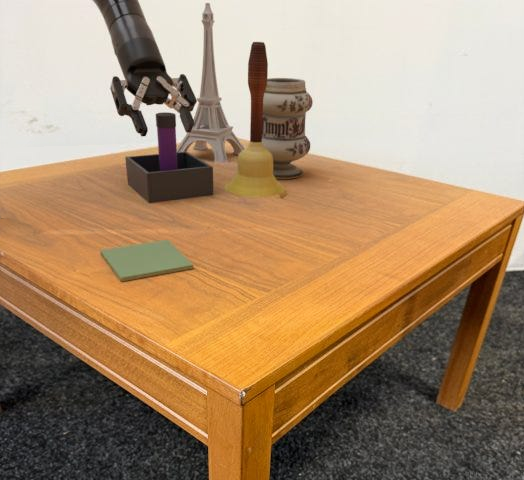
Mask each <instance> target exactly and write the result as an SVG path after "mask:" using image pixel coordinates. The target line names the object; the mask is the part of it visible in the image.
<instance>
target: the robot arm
mask: <svg viewBox="0 0 524 480" xmlns="http://www.w3.org/2000/svg"><path fill="white" fill-rule="evenodd" d="M91 2H92V3H93V4H94V5H95V7H96V8H97V9H98V12H99V13H100V14H101V16H102V19H103V21H104V23H105V27H106V29H107V32H108V34H109V37H110V40H111V45H112V48H113V53H114V55H115V58H116V59H117V62H118V64H119V67H120V70H121V72H122V75H123V78H124V79H120V78H119V77H118V76H115V75H113V77H112V79H111V83H110V88H109V89H110V92H111V95H112V99H113V102H114V105H115V109H116V112H117V114H118V115H119V116H120V117H124V116H127V117H129V118H130V119H131V121H132V124H133V126H134V129H135V132H136V133H137V134H140V137H146V136H147V134H148V130H149V128H148V125H147V123H146V119H145V118H144V115H143V113H142V109H141V106H142V104H144V105H146V106H152V105H159V106H161V105H165V106H166V107H168V108H169V109H173V110H175V112H177V113H178V114H179V119H180V121H181V123H182V126H183V129H184V131H185V133H186V134H187V133H188V132H191V130H192V128H193V126H194V120H193V119H194V116H193V115H192V112H193V111H194V109H195V106H196V104H197V103H198V101H197V97H196V95H195V93H194V91H193V89H192V86H191V84H190V82H189V80H188V77H187V76H186V74H184V73H182V74H180V75H179V77H174V78H173V77H171V76H170V75H169V74H168V72H167V68H166V64H165V62H164V59H163V57H162V54H161V51H160V48H159V46H158V43H157V41H156V39H155V36H154V33H153V32H152V29H151V27H150V25H149V24H148V21H147V19H146V16H145V13H144V11H143V8H142V6H141V4H140V2H139V0H91ZM126 90H127V91H128V92H129V93H130V94H131V95H132V96H134V98H133V101H132V104H131V103H128V102H127V98H126V95H125V91H126ZM169 96H171V97H170V98H169ZM140 109H141V110H140Z"/></svg>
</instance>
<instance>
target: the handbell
mask: <svg viewBox="0 0 524 480" xmlns="http://www.w3.org/2000/svg"><path fill="white" fill-rule="evenodd" d="M247 63H248V64H247V86H248V89H249V93H250V94H249V95H250V123H249V124H250V127H249V128H250V129H249V130H250V131H249V134H250V135H249V144H248V145H247V147H245V149H244V150H243V151H241V152H240V153H239V155H237V172H236V174H235V175H234V177H233V178H232V179H231V180H230V181H229V182H228V183H226V185H224V190H226V191H227V192H229V193H231V194H234V195H237V196H242V197H243V196H244V197H252V198H255V197H257V198H263V197H272V196H277V195H279V197H280V199H282V198H284V197H286V195H287V190H286V187H285V186H284V185H282V184H281V182H279V181H278V179H276V178H275V177H274V175H273V157H272V154H271V153H270V152H269V151H268V150H266V149H265V148H264V147H263V144H262V120H263V98H264V93H265V90H266V86H267V79H268V77H269V76H268V74H269V73H268V71H269V70H268V69H269V68H268V67H269V63H268V55H267V48H266V44H265V42H264V41H253V42H252V43H251V47H250V52H249V57H248V62H247Z"/></svg>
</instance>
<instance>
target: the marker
mask: <svg viewBox="0 0 524 480" xmlns="http://www.w3.org/2000/svg"><path fill="white" fill-rule="evenodd" d="M176 118H177V117H176V113H174V112H165V111H164V112H158V113H155V127H156V134H157V148H158V149H157V150H158V154H159V165H160V171H168V170H178V167H177V148H178V146H177V128H176V127H177V119H176Z"/></svg>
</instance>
